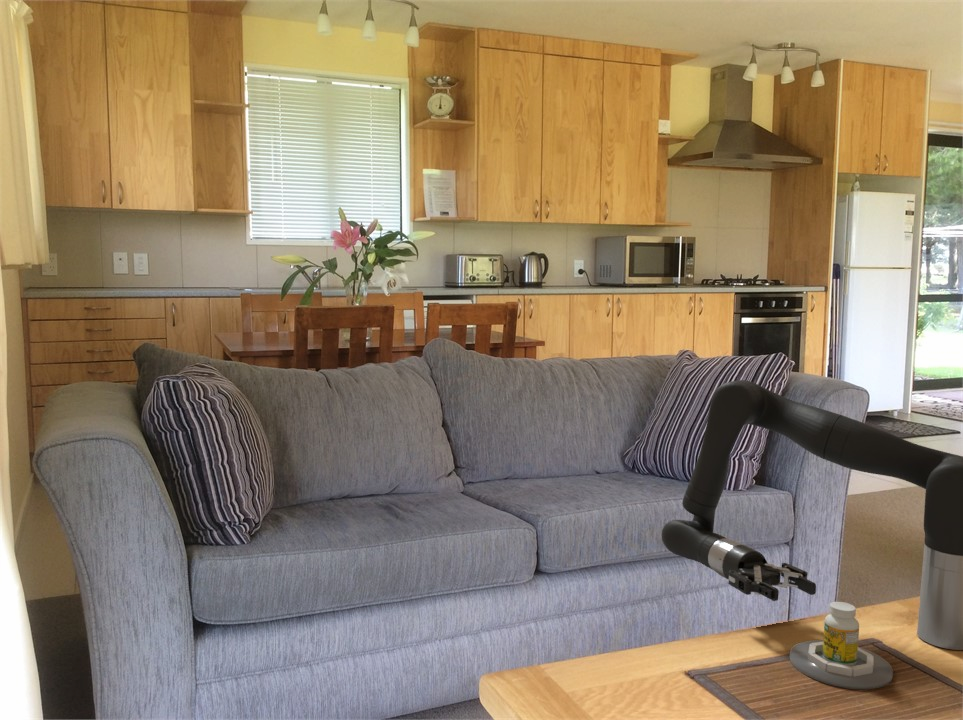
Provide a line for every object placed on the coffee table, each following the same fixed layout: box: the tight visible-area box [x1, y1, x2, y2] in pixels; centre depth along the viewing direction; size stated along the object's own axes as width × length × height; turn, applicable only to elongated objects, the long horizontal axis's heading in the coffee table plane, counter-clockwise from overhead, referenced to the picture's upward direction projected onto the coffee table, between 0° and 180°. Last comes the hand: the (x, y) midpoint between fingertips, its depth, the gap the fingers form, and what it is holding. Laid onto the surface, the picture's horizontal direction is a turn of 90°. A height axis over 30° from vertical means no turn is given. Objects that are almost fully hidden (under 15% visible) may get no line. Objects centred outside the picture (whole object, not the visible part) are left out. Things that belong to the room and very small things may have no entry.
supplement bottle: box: [822, 601, 860, 666], centre depth 142 cm, size 5×5×10 cm
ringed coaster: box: [789, 639, 894, 690], centre depth 142 cm, size 16×16×2 cm
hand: (795, 592), depth 152 cm, fingers open, 8 cm apart
